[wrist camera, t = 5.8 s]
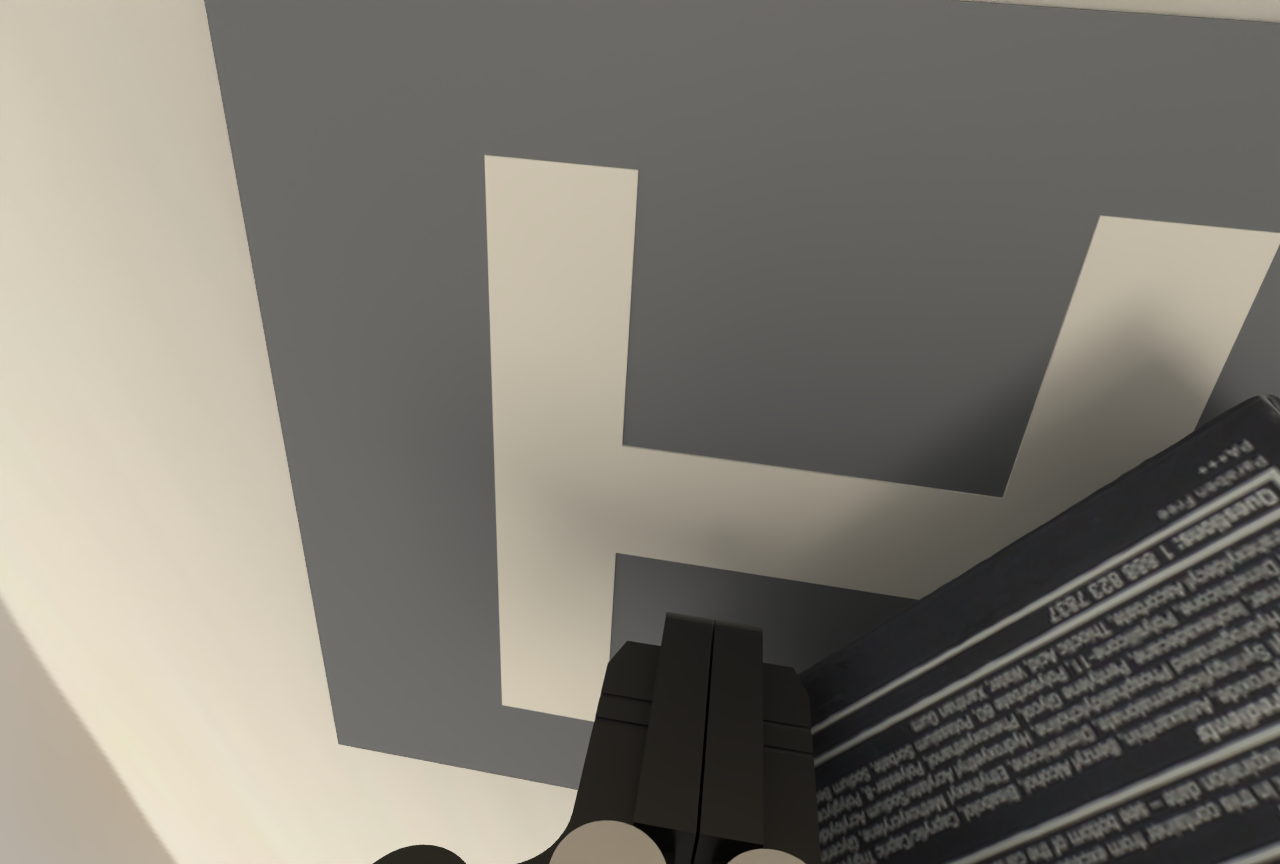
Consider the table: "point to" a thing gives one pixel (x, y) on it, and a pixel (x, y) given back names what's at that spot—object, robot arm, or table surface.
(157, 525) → the table surface
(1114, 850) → the small box
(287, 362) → the letter board
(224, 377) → the table surface
